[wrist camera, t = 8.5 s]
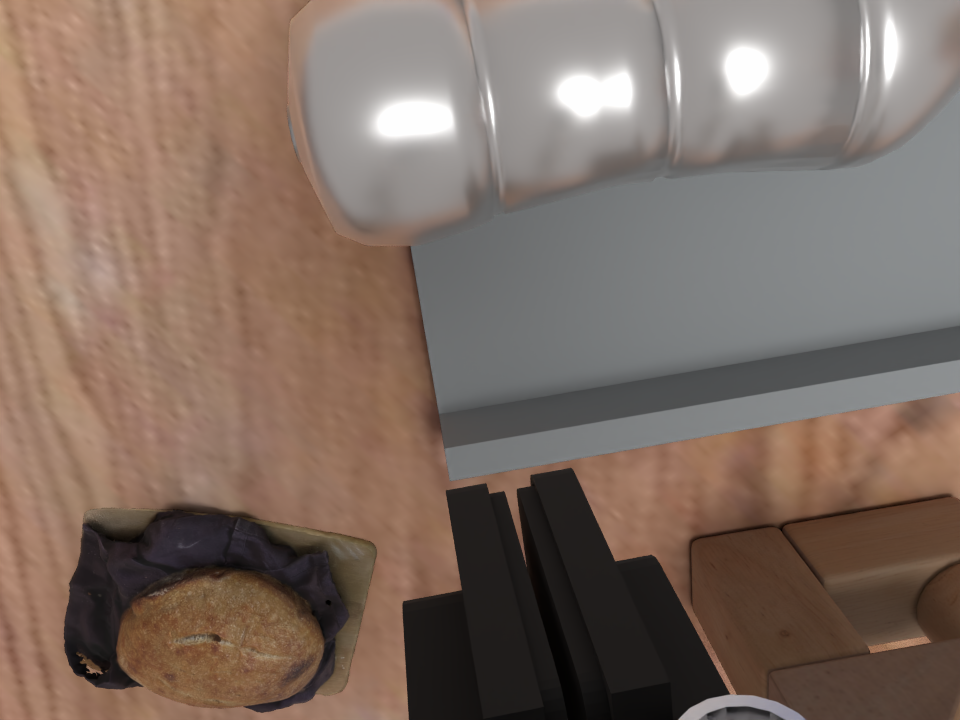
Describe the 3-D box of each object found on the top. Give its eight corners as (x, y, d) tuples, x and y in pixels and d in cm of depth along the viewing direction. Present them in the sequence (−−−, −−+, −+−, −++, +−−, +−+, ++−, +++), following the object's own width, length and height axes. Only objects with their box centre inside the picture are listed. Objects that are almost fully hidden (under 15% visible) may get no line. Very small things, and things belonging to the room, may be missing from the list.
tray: (1169, 312, 32) (1243, 342, 29) (442, 436, 30) (450, 481, 28) (1272, -196, 25) (1381, -218, 23) (357, -67, 24) (355, -75, 21)
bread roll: (385, 522, 32) (388, 584, 29) (341, 695, 35) (339, 770, 32) (84, 478, 30) (49, 539, 27) (64, 667, 33) (30, 743, 30)
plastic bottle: (278, 3, 24) (965, -115, 25) (331, 239, 27) (960, 124, 27) (240, -15, 18) (1150, -171, 19) (313, 292, 20) (1122, 143, 21)
